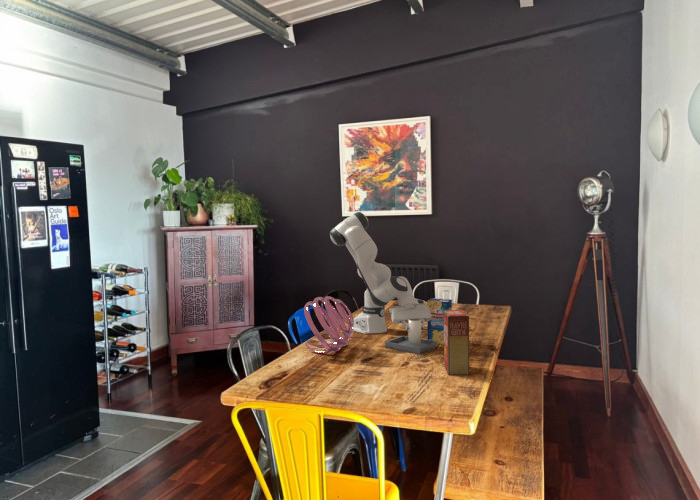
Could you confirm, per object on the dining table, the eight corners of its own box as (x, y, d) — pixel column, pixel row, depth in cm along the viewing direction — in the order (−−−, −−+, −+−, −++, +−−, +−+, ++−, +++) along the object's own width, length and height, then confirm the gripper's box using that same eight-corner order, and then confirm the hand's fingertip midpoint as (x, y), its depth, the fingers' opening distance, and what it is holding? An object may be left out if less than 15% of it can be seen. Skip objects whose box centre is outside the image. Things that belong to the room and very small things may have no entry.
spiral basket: (277, 314, 247) (323, 283, 242) (302, 316, 273) (343, 288, 268) (304, 365, 238) (352, 334, 233) (327, 363, 264) (370, 335, 259)
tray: (385, 347, 257) (385, 341, 257) (403, 341, 270) (402, 335, 269) (419, 354, 245) (419, 348, 244) (436, 347, 257) (436, 341, 257)
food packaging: (442, 365, 227) (442, 309, 225) (464, 365, 227) (464, 309, 225) (447, 375, 214) (447, 315, 212) (470, 375, 213) (470, 315, 212)
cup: (405, 342, 252) (405, 319, 251) (412, 339, 257) (412, 317, 256) (416, 344, 248) (416, 321, 247) (423, 341, 253) (423, 319, 252)
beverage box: (447, 344, 262) (448, 301, 260) (427, 342, 267) (427, 300, 265) (451, 341, 268) (452, 299, 266) (431, 339, 273) (431, 298, 271)
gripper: (389, 302, 255) (396, 326, 246) (428, 300, 260) (436, 323, 252) (386, 310, 260) (393, 333, 251) (424, 307, 265) (432, 330, 256)
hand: (415, 328), depth 251 cm, fingers closed on cup, 6 cm apart
